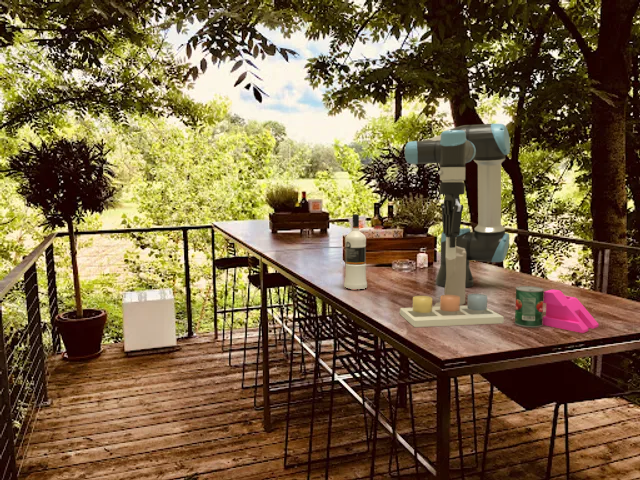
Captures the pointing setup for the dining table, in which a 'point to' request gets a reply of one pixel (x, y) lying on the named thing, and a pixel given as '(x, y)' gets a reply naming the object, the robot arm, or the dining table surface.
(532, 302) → the canned tomato
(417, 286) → the dining table surface
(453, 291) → the beige tall tapered piece
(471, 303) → the slate-blue button
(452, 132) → the robot arm
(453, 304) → the terracotta button
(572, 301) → the bracket
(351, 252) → the vodka
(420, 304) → the ochre button
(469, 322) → the panel
